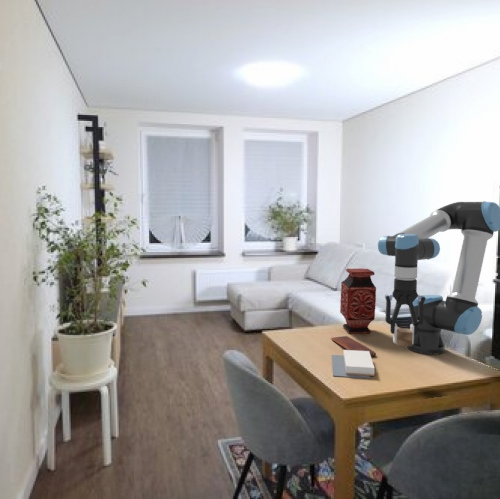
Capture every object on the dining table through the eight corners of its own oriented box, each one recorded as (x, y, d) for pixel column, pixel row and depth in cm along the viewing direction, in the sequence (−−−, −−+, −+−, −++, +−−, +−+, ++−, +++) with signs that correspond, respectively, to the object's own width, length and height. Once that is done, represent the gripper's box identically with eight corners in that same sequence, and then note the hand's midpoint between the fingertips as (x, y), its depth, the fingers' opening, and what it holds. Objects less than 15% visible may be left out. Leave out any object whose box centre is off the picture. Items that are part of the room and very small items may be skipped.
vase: (375, 334, 208) (377, 272, 205) (346, 334, 207) (348, 272, 204) (366, 326, 222) (367, 267, 218) (339, 326, 221) (340, 268, 218)
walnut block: (409, 342, 158) (409, 328, 157) (411, 346, 153) (412, 332, 152) (394, 341, 158) (395, 328, 158) (397, 345, 153) (397, 331, 153)
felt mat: (364, 357, 177) (364, 356, 177) (370, 378, 155) (370, 377, 155) (331, 355, 179) (331, 354, 179) (333, 376, 157) (333, 375, 157)
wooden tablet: (377, 356, 178) (377, 352, 177) (355, 357, 175) (355, 353, 175) (349, 337, 203) (349, 333, 203) (329, 338, 201) (329, 335, 201)
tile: (369, 351, 174) (343, 349, 176) (374, 367, 157) (346, 366, 158) (368, 358, 175) (343, 357, 176) (374, 375, 157) (345, 374, 159)
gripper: (429, 277, 156) (427, 340, 158) (377, 275, 158) (375, 338, 161) (435, 280, 148) (432, 347, 151) (380, 279, 151) (378, 344, 153)
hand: (403, 342), depth 156 cm, fingers closed on walnut block, 5 cm apart
